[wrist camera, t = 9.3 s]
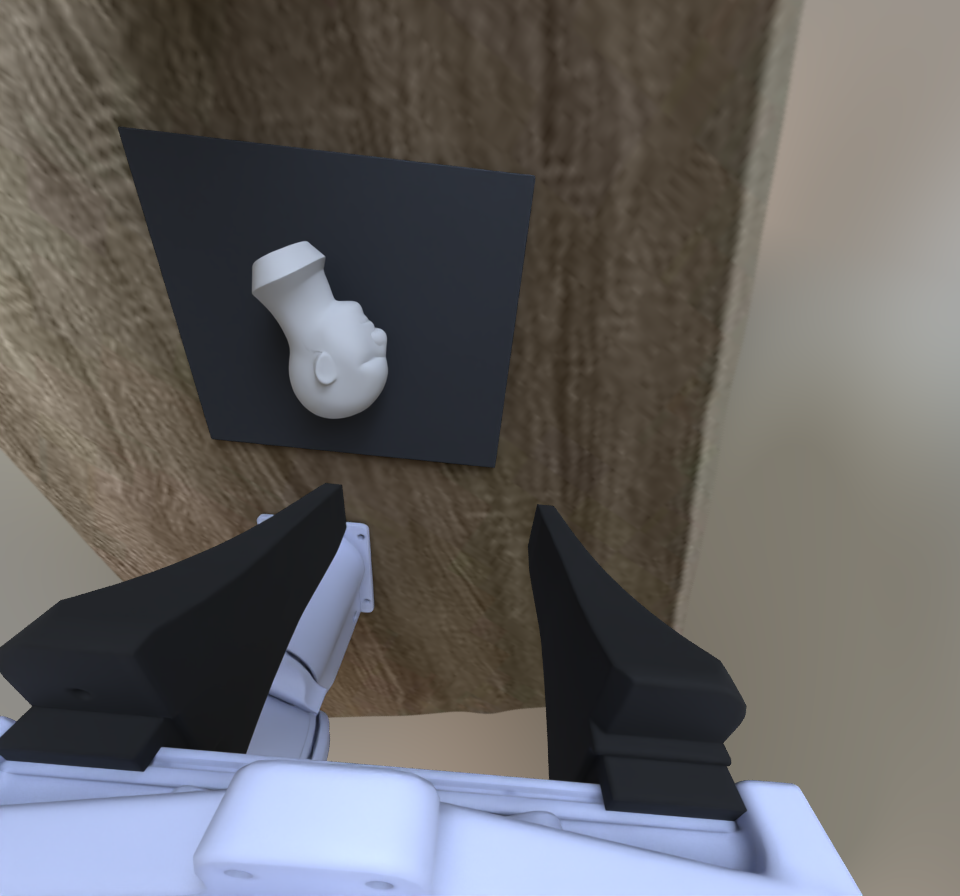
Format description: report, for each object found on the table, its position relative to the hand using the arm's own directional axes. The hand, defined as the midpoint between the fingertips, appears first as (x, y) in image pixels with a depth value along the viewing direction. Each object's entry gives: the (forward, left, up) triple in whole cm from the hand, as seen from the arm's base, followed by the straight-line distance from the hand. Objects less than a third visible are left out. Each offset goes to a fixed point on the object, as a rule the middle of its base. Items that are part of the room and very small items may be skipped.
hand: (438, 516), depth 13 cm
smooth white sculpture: (+5, +6, -9) cm, 12 cm away
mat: (+5, +7, -9) cm, 12 cm away
